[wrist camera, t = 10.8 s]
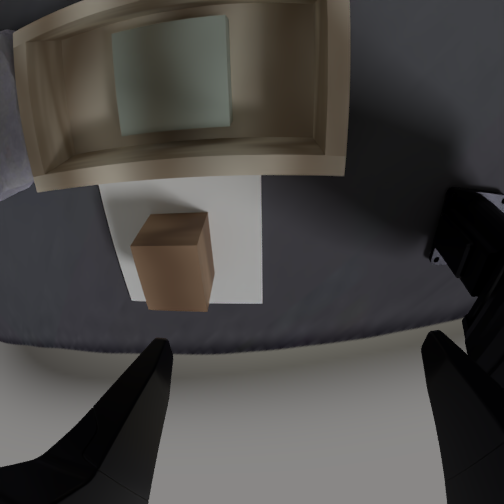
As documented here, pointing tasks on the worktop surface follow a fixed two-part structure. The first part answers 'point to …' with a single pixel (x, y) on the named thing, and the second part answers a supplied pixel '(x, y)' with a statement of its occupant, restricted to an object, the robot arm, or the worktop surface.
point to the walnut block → (175, 261)
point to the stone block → (11, 126)
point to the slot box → (184, 90)
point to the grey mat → (220, 223)
